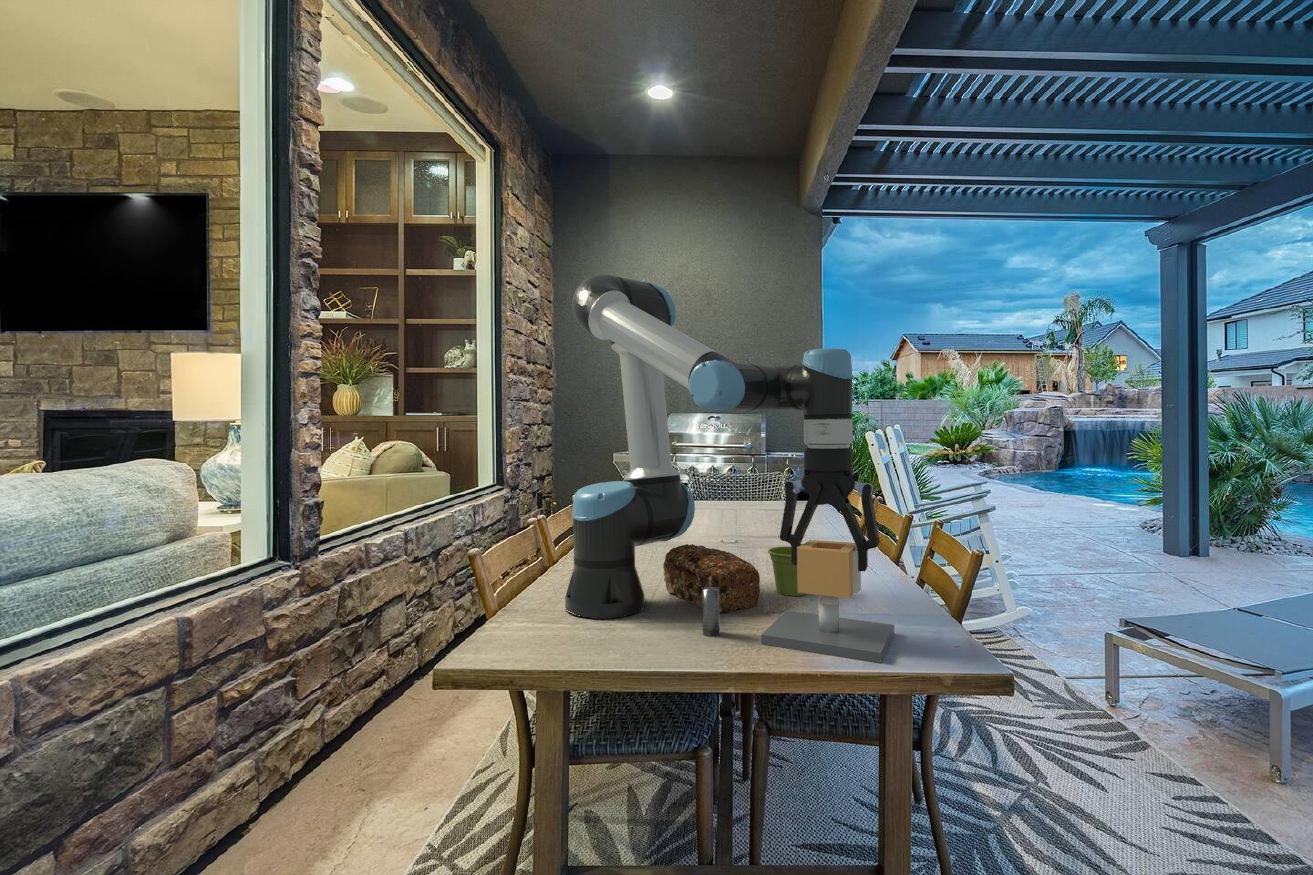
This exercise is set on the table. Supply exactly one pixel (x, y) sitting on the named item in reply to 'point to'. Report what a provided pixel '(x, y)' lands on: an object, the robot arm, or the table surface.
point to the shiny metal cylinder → (711, 611)
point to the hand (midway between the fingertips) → (828, 587)
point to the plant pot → (784, 571)
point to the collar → (825, 568)
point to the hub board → (830, 633)
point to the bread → (711, 576)
